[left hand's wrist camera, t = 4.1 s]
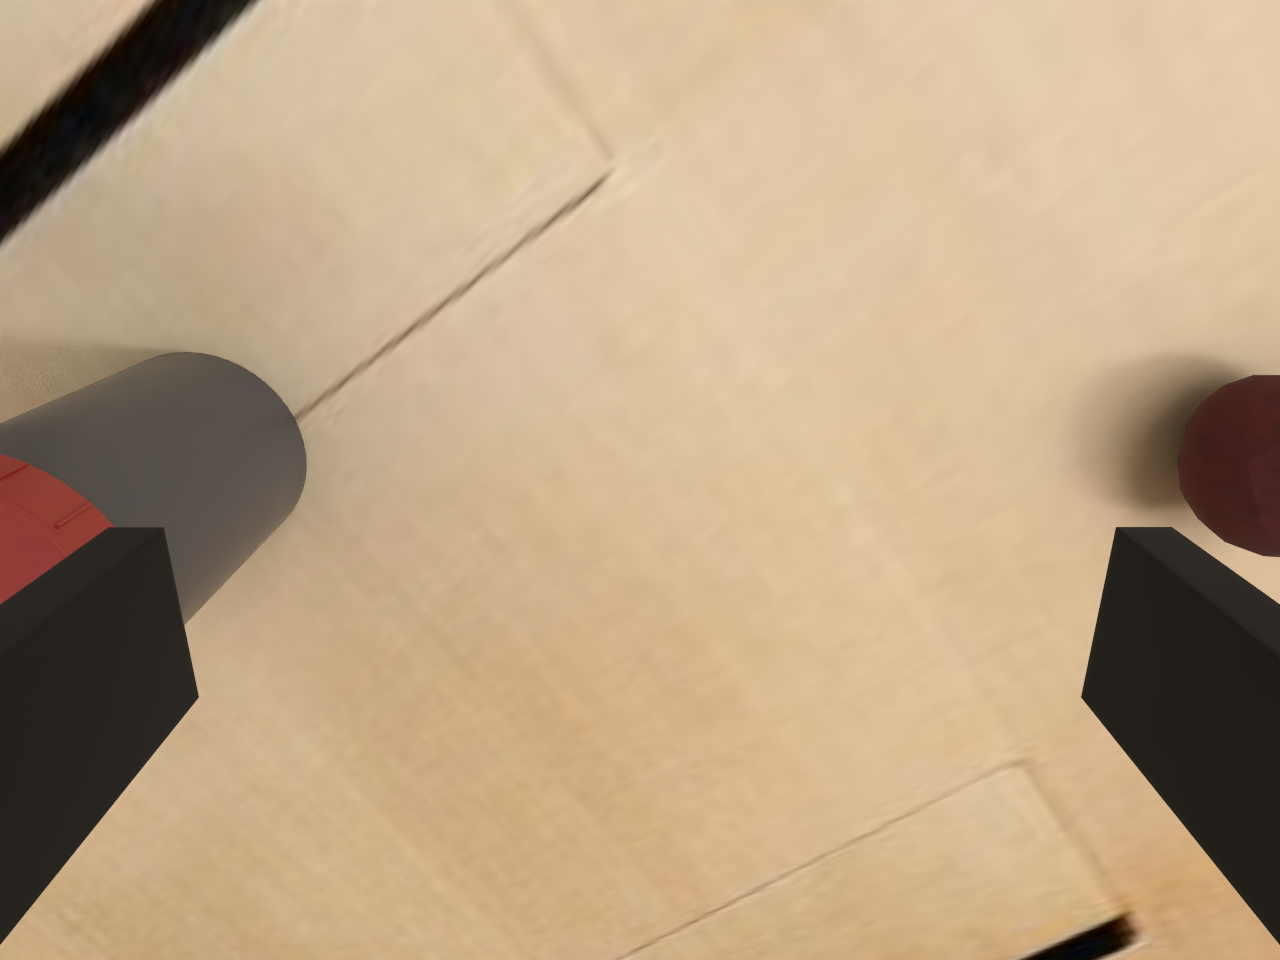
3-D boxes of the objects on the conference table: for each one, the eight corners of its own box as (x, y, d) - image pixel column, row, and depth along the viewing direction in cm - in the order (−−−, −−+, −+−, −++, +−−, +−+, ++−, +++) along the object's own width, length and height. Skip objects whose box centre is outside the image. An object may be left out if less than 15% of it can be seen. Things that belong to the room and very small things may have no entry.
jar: (291, 565, 43) (99, 795, 28) (94, 516, 42) (-218, 726, 27) (321, 384, 40) (122, 532, 25) (108, 327, 39) (-236, 443, 24)
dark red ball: (1181, 542, 43) (1280, 614, 36) (1117, 412, 40) (1210, 464, 34) (1332, 461, 41) (1464, 522, 35) (1274, 323, 39) (1404, 359, 32)
